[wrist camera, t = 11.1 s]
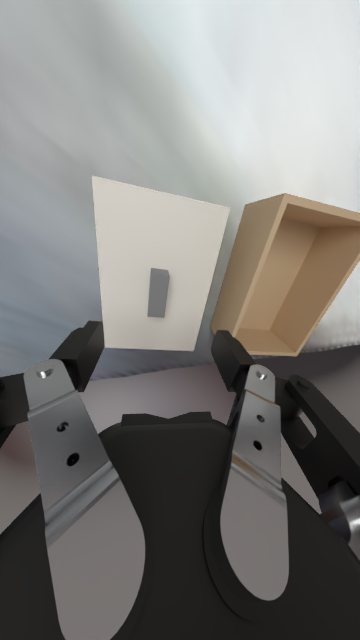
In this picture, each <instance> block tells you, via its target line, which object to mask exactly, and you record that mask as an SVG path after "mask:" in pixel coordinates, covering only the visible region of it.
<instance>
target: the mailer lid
mask: <svg viewBox="0 0 360 640" xmlns="http://www.w3.org/2000/svg"><path fill="white" fill-rule="evenodd" d="M92 183H93V197H94V210H95V223H96V236H97V249H98V262H99V275H100V288H101V302H102V315H103V328H104V341H105V348H127V349H153V350H178V351H194V348H195V344H196V340H197V336H198V332H199V328H200V324H201V321H202V317H203V313H204V309H205V305H206V301H207V297H208V293H209V289H210V285H211V281H212V278H213V274H214V270H215V266H216V262H217V258H218V254H219V250H220V246H221V242H222V238H223V235H224V231H225V227H226V223H227V219H228V215H229V211H230V208H229V207H225V206H220V205H216V204H212V203H208V202H203V201H199V200H195V199H190V198H186V197H182V196H177V195H173V194H169V193H165V192H160V191H156V190H152V189H147V188H143V187H139V186H134V185H130V184H126V183H122V182H117V181H113V180H109V179H104V178H100V177H96V176H92Z"/></svg>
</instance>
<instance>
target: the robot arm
mask: <svg viewBox="0 0 360 640" xmlns="http://www.w3.org/2000/svg"><path fill="white" fill-rule="evenodd" d="M103 348H104V330H103V323H102V321H88V322H87V324H86V325H85V326H84V328H78V329H76V330H74V331H73V332H71V333H70V335H69V336H68V337H67V338H66V339H65V340H64V342H63V343H62V344H61V345H60V346H59V348H58V349H57V350H56V351H55V352H54V353H53V355H52V356H51V357H50V358H49V359H48V360H43V361H40V362H38V363H35V364H34V365H32V366H31V367H29V368H28V369H27V370H26V371H25V373H21V374H16V375H11V376H5V377H0V448H1V447H2V445H3V443H4V442H5V441H6V439H7V437H8V436H9V434H10V433H11V431H12V430H13V428H14V427H15V425H16V424H18V423H22V422H25V421H28V422H29V428H30V434H31V439H32V445H33V450H34V457H35V463H36V468H37V475H38V480H39V486H40V492H41V493H40V494H39V495H38V496H37V497H36V498H35V499H34V500H33V501H32V502H31V503H30V504H29V505H28V507H26V508H25V510H23V512H22V513H21V514H20V515H19V516H18V517H17V518H16V519H15V520H14V521H13V522H12V523H11V524H10V525H9V526H8V527H7V528H6V529H5V530H4V531H3V532H2V533H1V534H0V640H360V433H359V432H358V431H357V430H356V429H355V428H354V427H353V426H352V425H351V424H350V423H349V422H348V420H347V419H346V418H345V417H344V416H343V415H342V414H341V413H340V412H339V411H338V410H337V409H336V408H335V407H334V406H333V405H332V404H331V403H330V402H329V400H328V399H327V398H326V397H325V396H324V395H323V394H322V393H321V392H320V391H319V390H318V389H317V388H316V387H315V386H314V385H313V384H312V383H311V382H310V381H308V380H307V379H305V378H303V377H301V376H298V375H290V376H289V378H288V379H287V380H284V379H280V378H276V377H275V376H274V375H273V373H272V372H271V371H270V370H268V369H267V368H265V367H263V366H261V365H257V364H256V363H255V361H254V360H253V359H252V357H251V356H250V355H249V353H248V352H246V349H245V348H244V347H243V345H242V344H241V343H240V341H238V340H237V339H236V338H234V337H232V335H231V334H230V332H229V331H228V330H217V331H216V334H215V337H214V340H213V344H212V347H211V353H212V356H213V358H214V360H215V363H216V365H217V367H218V369H219V372H220V374H221V376H222V379H223V381H224V383H225V385H226V388H227V390H228V391H229V392H236V396H235V399H234V402H233V406H232V409H231V412H230V416H229V419H228V422H227V425H225V424H223V423H221V422H219V421H217V420H214V419H212V417H211V413H210V412H190V413H187V414H183V415H180V416H177V417H174V418H170V419H167V418H162V417H158V416H154V415H150V414H123V416H122V421H121V422H120V423H117V424H115V425H112V426H110V427H108V428H107V429H105V430H103V431H102V432H100V433H99V434H97V431H96V429H95V427H94V425H93V423H92V421H91V418H90V416H89V414H88V412H87V410H86V408H85V405H84V403H83V401H82V399H81V397H80V394H79V392H84V390H85V388H86V386H87V384H88V382H89V379H90V377H91V375H92V373H93V371H94V369H95V366H96V364H97V362H98V360H99V358H100V355H101V353H102V351H103ZM302 412H304V413H305V414H306V416H307V417H308V418H309V420H310V421H311V422H312V424H313V425H314V427H315V428H316V432H317V435H316V437H315V438H314V437H313V435H312V434H311V433H310V431H309V430H308V428H307V427H306V426H305V424H304V423H303V421H302V420H301V418H300V417H299V415H300V414H301V413H302ZM281 433H282V435H283V437H284V439H285V440H286V442H287V444H288V446H289V448H290V450H291V451H292V453H293V455H294V457H295V458H296V460H297V462H298V464H299V466H300V467H301V469H302V471H303V473H304V475H305V476H306V478H307V480H308V482H309V483H310V485H311V487H312V489H313V491H314V492H315V494H316V496H317V498H318V500H319V506H320V509H321V512H322V513H321V514H318V513H317V512H316V511H315V510H314V509H313V508H312V507H311V506H310V505H309V504H308V503H307V502H306V501H305V500H304V499H303V498H302V497H301V496H300V495H299V494H298V493H297V492H296V491H295V490H294V489H293V488H292V487H291V486H290V485H289V484H288V483H287V482H286V481H285V480H283V478H281Z"/></svg>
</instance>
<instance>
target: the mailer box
mask: <svg viewBox="0 0 360 640" xmlns="http://www.w3.org/2000/svg"><path fill="white" fill-rule="evenodd" d="M359 260H360V213H357V212H353V211H349V210H346V209H342V208H338V207H335V206H331V205H327V204H323V203H320V202H316V201H312V200H308V199H305V198H301V197H297V196H294V195H290V194H286V193H284V194H281V195H277V196H274V197H270V198H267V199H263V200H260V201H257V202H253V203H250V204H246V205H245V208H244V211H243V215H242V218H241V222H240V225H239V229H238V232H237V236H236V239H235V243H234V246H233V249H232V253H231V256H230V260H229V263H228V267H227V270H226V274H225V277H224V281H223V284H222V288H221V291H220V295H219V298H218V301H217V305H216V308H215V312H214V315H213V319H212V322H211V326H210V328H211V330H212V332H213V333H214V335H215V334H216V331H217V330H228V331H229V332H230V334H231V335H232V337H234V338H236V339H237V340H238V341H240V343H241V344H242V345H243V347H244V348H245V349H246V352H248V353H249V354H251V355H279V356H297V355H298V354H299V352H300V351H301V349H302V348H303V346H304V344H305V343H306V341H307V340H308V338H309V337H310V335H311V334H312V332H313V331H314V329H315V328H316V326H317V325H318V323H319V322H320V320H321V318H322V317H323V315H324V314H325V312H326V311H327V309H328V308H329V306H330V305H331V303H332V302H333V300H334V299H335V297H336V295H337V294H338V292H339V291H340V289H341V288H342V286H343V285H344V283H345V282H346V280H347V279H348V277H349V276H350V274H351V273H352V271H353V269H354V268H355V266H356V265H357V263H358V262H359Z"/></svg>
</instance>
